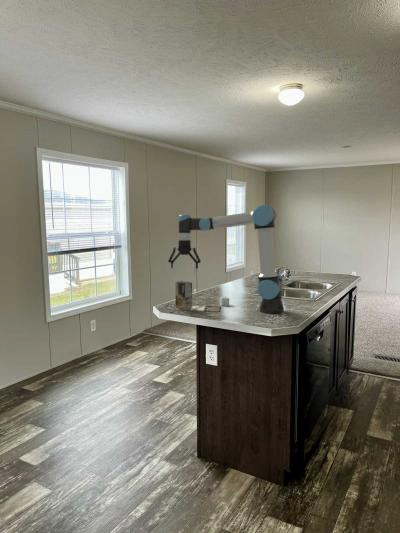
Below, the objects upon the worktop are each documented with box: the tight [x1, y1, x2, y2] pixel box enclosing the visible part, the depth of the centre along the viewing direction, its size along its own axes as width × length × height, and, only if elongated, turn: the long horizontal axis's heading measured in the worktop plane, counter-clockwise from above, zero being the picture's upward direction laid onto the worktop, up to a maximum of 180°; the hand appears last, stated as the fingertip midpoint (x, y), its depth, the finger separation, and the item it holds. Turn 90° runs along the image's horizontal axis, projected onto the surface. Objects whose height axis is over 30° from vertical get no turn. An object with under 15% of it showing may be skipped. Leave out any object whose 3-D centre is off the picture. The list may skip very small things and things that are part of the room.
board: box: [173, 304, 222, 313], centre depth 244 cm, size 28×14×1 cm, turn 83°
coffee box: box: [174, 281, 193, 309], centre depth 244 cm, size 9×6×16 cm
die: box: [219, 296, 230, 307], centre depth 256 cm, size 5×5×5 cm
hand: (184, 273), depth 242 cm, fingers open, 13 cm apart
